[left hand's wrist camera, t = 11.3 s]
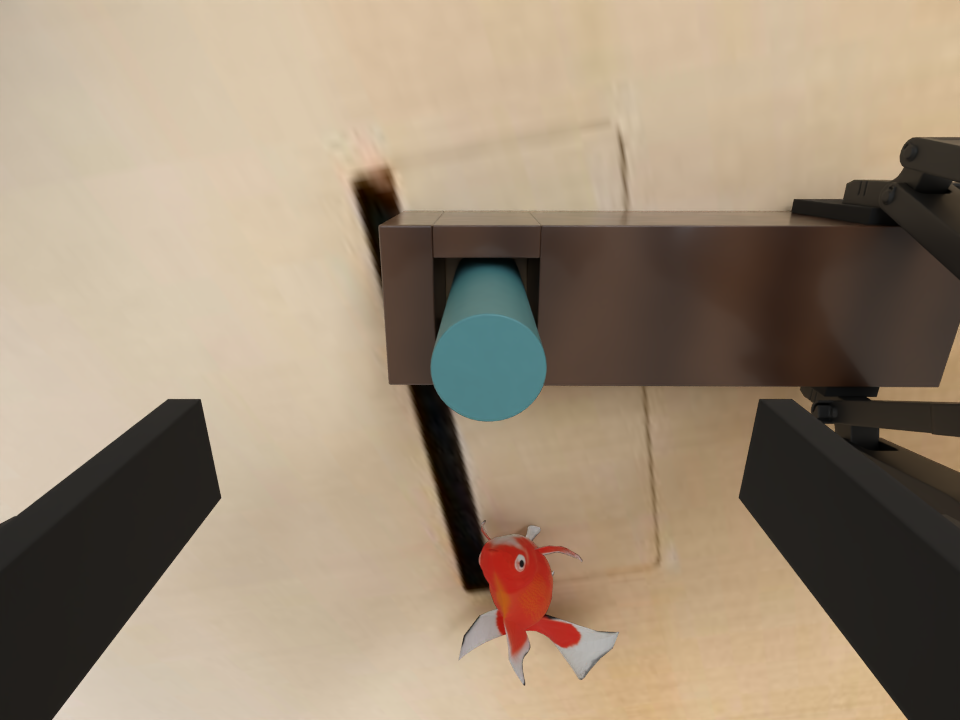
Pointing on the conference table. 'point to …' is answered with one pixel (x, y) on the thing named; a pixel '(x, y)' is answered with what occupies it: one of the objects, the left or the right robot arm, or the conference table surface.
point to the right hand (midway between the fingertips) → (800, 281)
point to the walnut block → (685, 296)
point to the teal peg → (488, 343)
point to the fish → (529, 605)
